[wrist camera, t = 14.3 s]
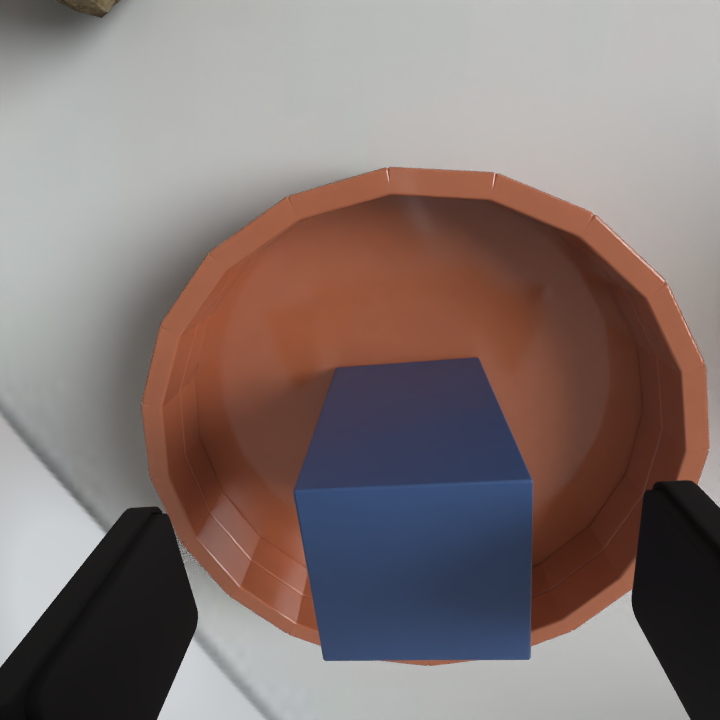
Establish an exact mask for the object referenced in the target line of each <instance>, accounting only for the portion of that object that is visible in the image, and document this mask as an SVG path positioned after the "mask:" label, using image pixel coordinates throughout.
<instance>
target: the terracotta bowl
mask: <svg viewBox="0 0 720 720" xmlns="http://www.w3.org/2000/svg"><path fill="white" fill-rule="evenodd" d="M476 357H477V358H479V359H480V362H481V364H482V366H483V368H484V371H485V373H486V375H487V377H488V380H489V382H490V384H491V387H492V389H493V391H494V393H495V396H496V398H497V400H498V402H499V405H500V407H501V409H502V412H503V414H504V416H505V418H506V421H507V423H508V425H509V427H510V430H511V432H512V434H513V437H514V439H515V441H516V443H517V446H518V448H519V450H520V452H521V455H522V457H523V459H524V462H525V464H526V466H527V468H528V471H529V473H530V475H531V477H532V480H533V528H532V594H531V646H533V645H536V644H539V643H542V642H544V641H547V640H550V639H552V638H555V637H558V636H560V635H563V634H566V633H568V632H571V631H572V630H575V629H576V628H578V627H579V626H581V625H582V624H584V623H585V622H586V621H588V620H589V619H591V618H592V617H593V616H595V615H596V614H598V613H599V612H600V611H602V610H603V609H605V608H606V607H608V606H609V605H610V604H612V603H613V602H615V601H616V600H617V599H619V598H620V597H622V596H623V595H625V594H626V593H627V592H629V591H630V590H632V589H633V581H634V572H635V564H636V555H637V546H638V538H639V529H640V520H641V512H642V503H643V496H644V493H645V491H647V490H652V488H653V485H654V484H655V483H656V482H658V481H677V480H690V481H693V482H694V483H696V484H698V481H699V479H700V476H701V473H702V470H703V467H704V464H705V461H706V458H707V455H708V452H709V450H708V449H709V425H708V401H707V376H706V366H705V365H704V364H705V363H704V360H703V358H702V356H701V354H700V352H699V350H698V347H697V345H696V343H695V341H694V339H693V337H692V334H691V332H690V330H689V328H688V326H687V324H686V321H685V319H684V317H683V315H682V313H681V311H680V308H679V306H678V304H677V302H676V300H675V298H674V295H673V293H672V291H671V289H670V287H669V285H668V283H666V281H665V279H664V278H663V277H662V276H661V275H660V274H659V273H658V272H656V271H655V270H654V269H653V268H652V267H651V266H650V265H649V264H648V263H647V262H646V261H645V260H644V259H643V258H642V257H641V256H639V255H638V254H637V253H636V252H635V251H634V250H633V249H632V248H631V247H630V246H629V245H628V244H627V243H626V242H625V241H624V240H622V239H621V238H620V237H619V236H618V235H617V234H616V233H615V232H614V231H613V230H612V229H611V228H610V227H609V226H608V225H607V224H605V223H604V222H603V221H602V220H601V219H600V218H599V217H598V216H597V215H594V214H593V213H592V212H590V211H588V210H586V209H583V208H581V207H578V206H576V205H574V204H571V203H569V202H566V201H564V200H562V199H559V198H557V197H554V196H552V195H550V194H547V193H545V192H542V191H540V190H538V189H535V188H533V187H530V186H528V185H525V184H523V183H521V182H518V181H516V180H513V179H511V178H509V177H506V176H504V175H501V174H495V173H494V172H480V171H461V170H442V169H422V168H403V167H389V168H382V169H378V170H375V171H371V172H368V173H364V174H361V175H358V176H354V177H351V178H347V179H344V180H340V181H337V182H334V183H330V184H327V185H323V186H320V187H316V188H313V189H309V190H306V191H303V192H299V193H296V194H292V195H290V196H289V197H285V198H284V199H282V200H281V201H279V202H278V203H277V204H275V205H274V206H272V207H271V208H270V209H268V210H267V211H265V212H264V213H263V214H261V215H260V216H259V217H257V218H256V219H254V220H253V221H252V222H250V223H249V224H247V225H246V226H245V227H243V228H242V229H240V230H239V231H238V232H236V233H235V234H234V235H232V236H231V237H229V238H228V239H227V240H225V241H224V242H222V243H221V244H220V245H218V246H217V247H215V248H214V249H213V250H211V251H210V252H209V254H207V255H206V257H205V258H204V260H203V261H202V263H201V264H200V266H199V267H198V269H197V270H196V272H195V273H194V275H193V276H192V278H191V279H190V281H189V282H188V284H187V285H186V287H185V288H184V290H183V291H182V293H181V294H180V296H179V297H178V298H177V300H176V301H175V303H174V304H173V306H172V307H171V309H170V310H169V312H168V313H167V315H166V316H165V318H164V319H163V321H162V322H161V324H160V327H159V331H158V335H157V339H156V343H155V348H154V352H153V356H152V360H151V364H150V369H149V373H148V377H147V381H146V385H145V390H144V394H143V398H142V404H141V407H142V415H143V424H144V432H145V441H146V449H147V458H148V466H149V475H150V477H151V481H152V483H153V485H154V487H155V489H156V491H157V493H158V496H159V498H160V500H161V502H162V504H163V506H164V508H165V510H166V513H167V515H168V516H169V518H170V520H171V523H172V525H173V527H174V529H175V532H176V534H177V536H178V538H179V540H180V541H181V543H182V545H183V546H184V547H185V548H186V549H187V550H188V551H189V552H190V554H191V555H192V556H193V557H194V558H195V559H196V560H197V561H198V562H199V564H200V565H201V566H202V567H203V568H204V569H205V570H206V571H207V572H208V574H209V575H210V576H211V577H212V578H213V579H214V580H215V581H216V582H217V584H218V585H219V586H220V587H221V588H222V589H223V590H224V591H225V592H226V594H228V595H229V596H230V597H231V598H233V599H235V600H236V601H238V602H239V603H241V604H242V605H244V606H245V607H247V608H248V609H250V610H251V611H253V612H255V613H256V614H258V615H259V616H261V617H262V618H264V619H265V620H267V621H268V622H270V623H271V624H273V625H274V626H276V627H278V628H279V629H281V630H282V631H284V632H285V633H289V635H291V636H294V637H297V638H300V639H302V640H305V641H308V642H311V643H314V644H317V645H319V646H321V643H320V638H319V632H318V627H317V621H316V616H315V610H314V605H313V599H312V593H311V588H310V582H309V577H308V571H307V566H306V560H305V555H304V549H303V544H302V538H301V532H300V527H299V521H298V516H297V510H296V505H295V499H294V494H293V491H294V488H295V485H296V482H297V479H298V476H299V473H300V471H301V468H302V465H303V462H304V459H305V456H306V453H307V450H308V447H309V445H310V442H311V439H312V436H313V433H314V430H315V427H316V424H317V422H318V419H319V416H320V413H321V410H322V407H323V404H324V401H325V398H326V396H327V393H328V390H329V387H330V384H331V381H332V378H333V375H334V373H335V370H336V368H338V367H352V366H366V365H380V364H394V363H407V362H421V361H435V360H449V359H463V358H476ZM378 661H387V662H396V663H406V664H415V665H424V666H427V665H429V666H434V665H442V664H450V663H459V662H467V661H475V660H378Z"/></svg>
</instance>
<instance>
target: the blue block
mask: <svg viewBox="0 0 720 720" xmlns="http://www.w3.org/2000/svg"><path fill="white" fill-rule="evenodd" d="M293 494H294V499H295V505H296V510H297V516H298V521H299V527H300V532H301V538H302V544H303V549H304V555H305V560H306V566H307V571H308V577H309V582H310V588H311V593H312V599H313V605H314V610H315V616H316V621H317V627H318V632H319V638H320V643H321V649H322V654H323V659H324V660H325V661H374V660H529V659H530V657H531V594H532V528H533V480H532V477H531V475H530V473H529V471H528V468H527V466H526V464H525V462H524V459H523V457H522V455H521V452H520V450H519V448H518V446H517V443H516V441H515V439H514V437H513V434H512V432H511V430H510V427H509V425H508V423H507V421H506V418H505V416H504V414H503V412H502V409H501V407H500V405H499V402H498V400H497V398H496V396H495V393H494V391H493V389H492V387H491V384H490V382H489V380H488V377H487V375H486V373H485V371H484V368H483V366H482V364H481V362H480V359H479V358H477V357H476V358H463V359H449V360H435V361H421V362H407V363H394V364H380V365H366V366H352V367H338V368H336V370H335V373H334V375H333V378H332V381H331V384H330V387H329V390H328V393H327V396H326V398H325V401H324V404H323V407H322V410H321V413H320V416H319V419H318V422H317V424H316V427H315V430H314V433H313V436H312V439H311V442H310V445H309V447H308V450H307V453H306V456H305V459H304V462H303V465H302V468H301V471H300V473H299V476H298V479H297V482H296V485H295V488H294V491H293Z"/></svg>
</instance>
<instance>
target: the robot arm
mask: <svg viewBox="0 0 720 720" xmlns="http://www.w3.org/2000/svg"><path fill="white" fill-rule="evenodd" d="M632 607H633V611H634V614H635V617H636V619H637V621H638V623H639V625H640V627H641V629H642V631H643V632H644V634H645V636H646V638H647V640H648V642H649V644H650V645H651V647H652V649H653V651H654V653H655V655H656V656H657V658H658V660H659V662H660V664H661V666H662V667H663V669H664V671H665V673H666V675H667V677H668V679H669V680H670V682H671V684H672V686H673V688H674V690H675V691H676V693H677V695H678V697H679V699H680V701H681V702H682V704H683V706H684V708H685V710H686V712H687V714H688V715H689V717H690V719H691V720H720V508H719V507H718V506H717V505H716V504H715V503H714V502H713V501H712V500H711V499H710V498H709V496H708V495H707V494H706V493H705V492H704V491H703V490H702V489H701V488H700V487H699V486H698V485H697V484H696V483H694V482H693V481H690V480H677V481H658V482H656V483H655V484H654V485H653V488H652V490H647V491H645V493H644V496H643V503H642V512H641V520H640V529H639V538H638V546H637V555H636V564H635V572H634V581H633V589H632ZM197 622H198V611H197V607H196V604H195V600H194V597H193V594H192V590H191V587H190V584H189V580H188V577H187V574H186V570H185V567H184V564H183V560H182V557H181V554H180V550H179V547H178V544H177V540H176V537H175V534H174V530H173V527H172V524H171V520H170V518H169V516H168V515H167V514H163V513H162V511H161V510H160V509H159V508H158V507H139V508H129V509H127V510H126V511H125V512H124V513H123V514H122V515H121V516H120V518H119V519H118V520H117V521H116V523H115V524H114V525H113V527H112V528H111V529H110V530H109V532H108V533H107V534H106V535H105V537H104V538H103V539H102V540H101V542H100V543H99V544H98V545H97V547H96V548H95V549H94V551H93V552H92V553H91V554H90V556H89V557H88V558H87V559H86V561H85V562H84V563H83V565H82V566H81V567H80V568H79V569H78V571H77V572H76V573H75V574H74V576H73V577H72V578H71V579H70V581H69V582H68V583H67V585H66V586H65V587H64V588H63V589H62V591H61V592H60V593H59V595H58V596H57V597H56V598H55V600H54V601H53V602H52V603H51V605H50V606H49V607H48V609H47V610H46V611H45V612H44V613H43V615H42V616H41V617H40V619H39V620H38V621H37V622H36V623H35V625H34V626H33V627H32V628H31V630H30V631H29V633H27V635H26V636H25V637H24V639H23V640H22V641H21V642H20V644H19V645H18V646H17V647H16V649H15V650H14V651H13V652H12V654H11V655H10V656H9V657H8V659H7V660H6V661H5V662H4V664H3V665H2V666H1V667H0V720H157V718H158V716H159V713H160V711H161V708H162V706H163V704H164V702H165V699H166V697H167V695H168V692H169V690H170V688H171V685H172V683H173V681H174V679H175V676H176V674H177V672H178V669H179V667H180V665H181V662H182V660H183V658H184V656H185V653H186V651H187V648H188V646H189V644H190V642H191V639H192V637H193V635H194V632H195V630H196V627H197Z"/></svg>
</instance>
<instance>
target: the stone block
mask: <svg viewBox="0 0 720 720" xmlns="http://www.w3.org/2000/svg"><path fill="white" fill-rule="evenodd" d="M58 1H59V2H60V3H62V4H64V5H66V6H68V7H70V8H72V9H74V10H76V11H79V12H82V13H86V14H89V15H93V16H96V17H100V18H102V17H103V16H105V15H106V14H107V13H109V11H110V9H111V8H112V6H114V5H115V4H116V3H118V2H119V1H120V0H58Z"/></svg>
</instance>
